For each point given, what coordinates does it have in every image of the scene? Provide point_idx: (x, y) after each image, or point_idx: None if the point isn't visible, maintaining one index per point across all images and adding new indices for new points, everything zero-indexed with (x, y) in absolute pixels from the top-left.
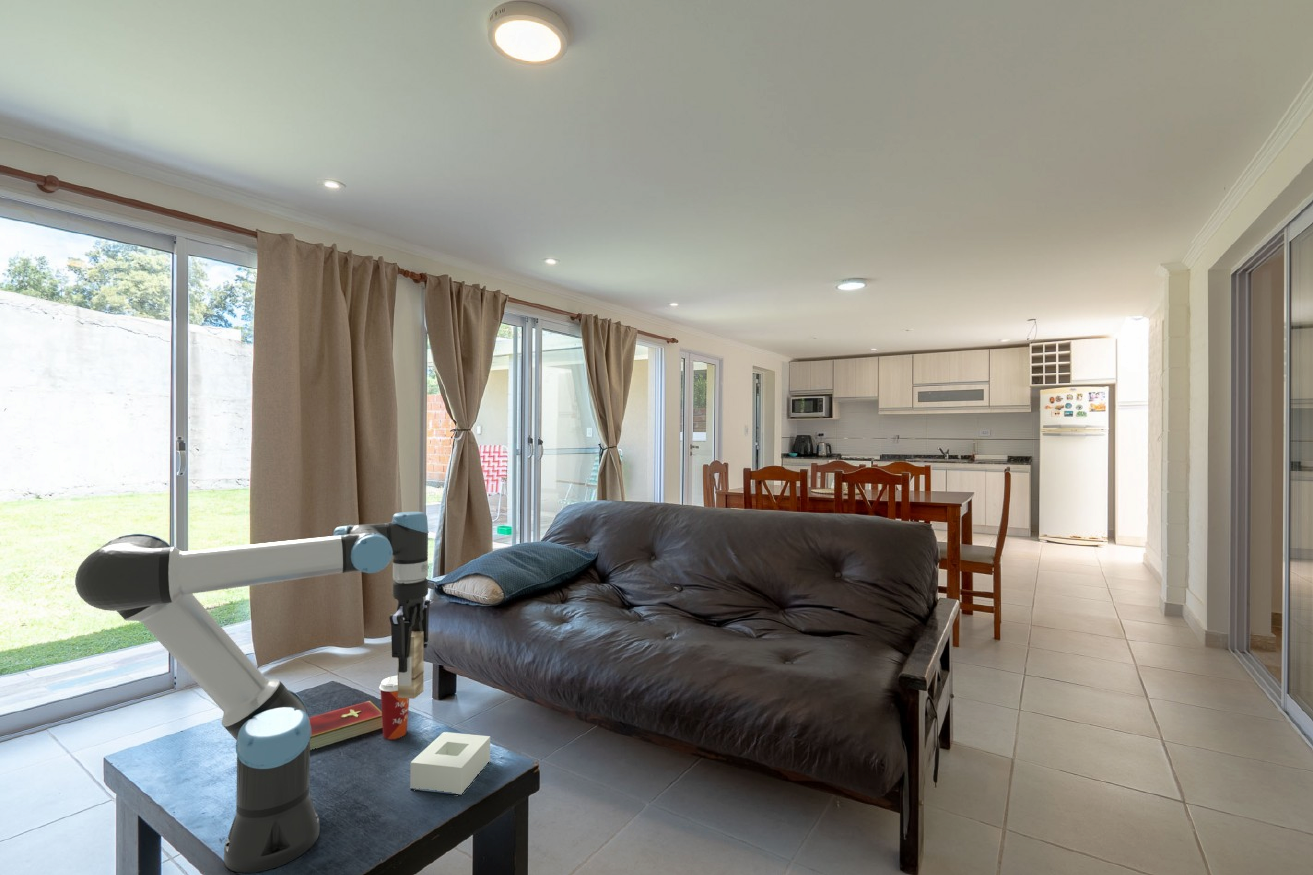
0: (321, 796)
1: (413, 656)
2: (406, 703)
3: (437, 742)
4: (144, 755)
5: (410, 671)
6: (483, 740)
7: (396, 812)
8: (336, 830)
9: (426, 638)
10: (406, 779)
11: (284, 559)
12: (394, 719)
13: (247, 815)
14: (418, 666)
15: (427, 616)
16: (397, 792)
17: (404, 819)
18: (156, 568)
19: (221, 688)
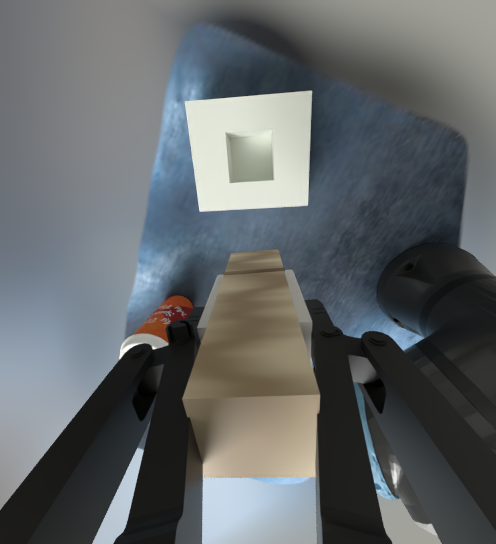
0: (329, 299)
1: (295, 313)
2: (158, 318)
3: (236, 199)
4: None
5: (295, 289)
6: (204, 108)
7: (353, 185)
8: (395, 237)
9: (138, 358)
10: (276, 223)
11: None
12: (183, 315)
13: None
14: (256, 284)
15: (8, 529)
16: (308, 215)
17: (368, 162)
18: None
19: None
